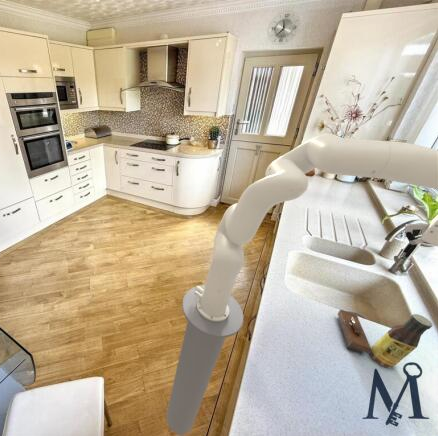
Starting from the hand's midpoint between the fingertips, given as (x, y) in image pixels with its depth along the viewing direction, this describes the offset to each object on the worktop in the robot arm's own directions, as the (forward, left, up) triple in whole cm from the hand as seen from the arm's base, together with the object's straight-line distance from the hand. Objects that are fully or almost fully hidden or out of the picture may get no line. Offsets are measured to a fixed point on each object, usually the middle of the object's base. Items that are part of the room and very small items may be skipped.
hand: (430, 264), depth 63 cm
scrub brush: (-4, -1, -35) cm, 35 cm away
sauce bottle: (+5, -3, -35) cm, 35 cm away
